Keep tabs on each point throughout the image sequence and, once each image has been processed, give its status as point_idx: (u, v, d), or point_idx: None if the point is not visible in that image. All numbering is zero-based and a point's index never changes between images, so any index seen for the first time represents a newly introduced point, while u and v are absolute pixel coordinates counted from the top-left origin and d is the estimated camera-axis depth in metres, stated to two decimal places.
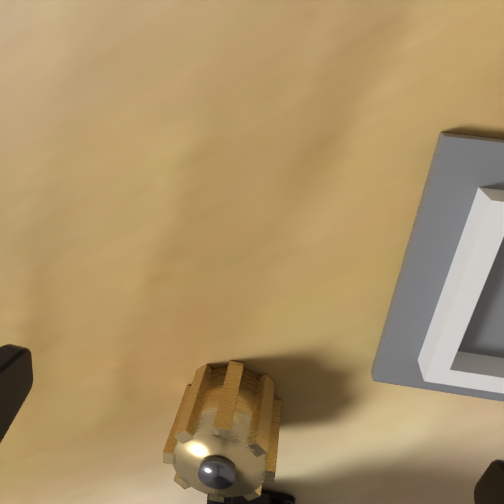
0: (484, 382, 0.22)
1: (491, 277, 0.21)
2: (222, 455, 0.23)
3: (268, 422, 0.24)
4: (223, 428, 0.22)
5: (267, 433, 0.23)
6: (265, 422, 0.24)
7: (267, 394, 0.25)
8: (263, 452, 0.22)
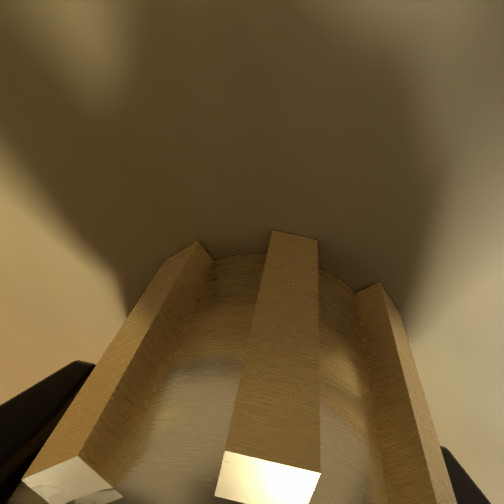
0: None
1: None
2: None
3: (133, 344, 0.06)
4: None
5: (112, 381, 0.05)
6: (117, 359, 0.06)
7: (154, 290, 0.08)
8: (80, 468, 0.04)
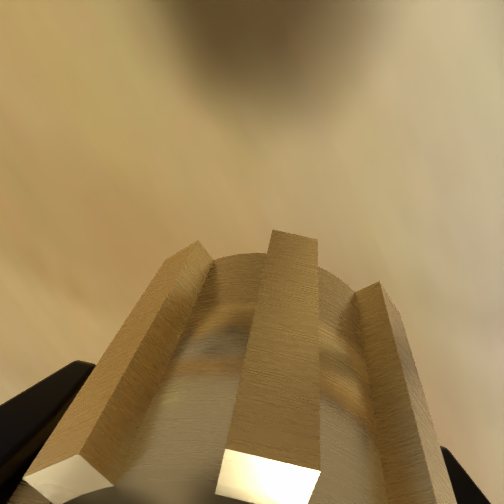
0: None
1: None
2: None
3: (134, 343, 0.06)
4: None
5: (113, 380, 0.05)
6: (118, 358, 0.06)
7: (154, 289, 0.08)
8: (82, 466, 0.04)
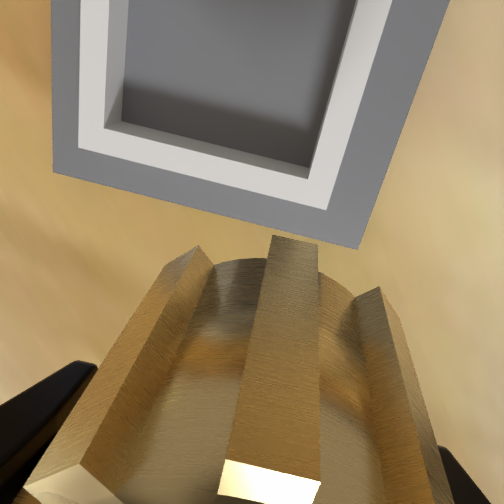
0: (334, 133, 0.15)
1: (202, 115, 0.17)
2: None
3: (134, 350, 0.06)
4: None
5: (113, 388, 0.05)
6: (118, 365, 0.06)
7: (154, 295, 0.08)
8: (82, 475, 0.04)
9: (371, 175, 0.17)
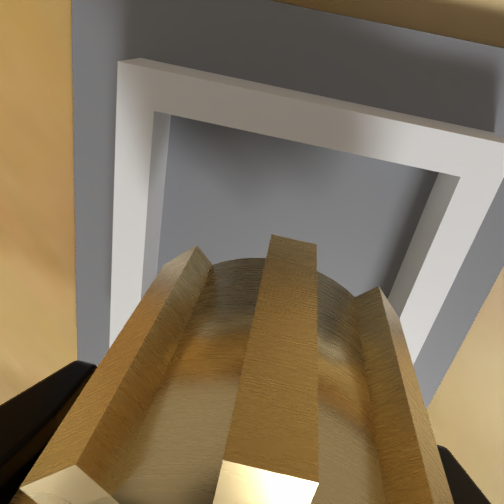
0: None
1: None
2: None
3: (132, 350, 0.06)
4: None
5: (111, 388, 0.05)
6: (115, 365, 0.06)
7: (153, 294, 0.08)
8: (78, 476, 0.04)
9: (429, 375, 0.16)
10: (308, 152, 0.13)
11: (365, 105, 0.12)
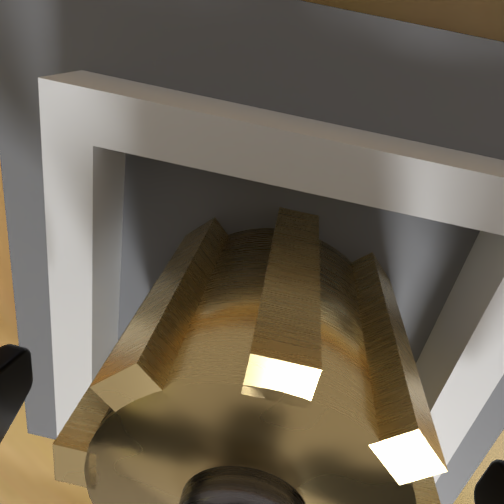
0: None
1: None
2: (181, 487, 0.07)
3: (169, 293, 0.07)
4: (55, 455, 0.07)
5: (155, 318, 0.07)
6: (155, 305, 0.07)
7: (180, 256, 0.09)
8: (138, 374, 0.06)
9: (459, 464, 0.13)
10: (309, 194, 0.09)
11: (386, 135, 0.09)
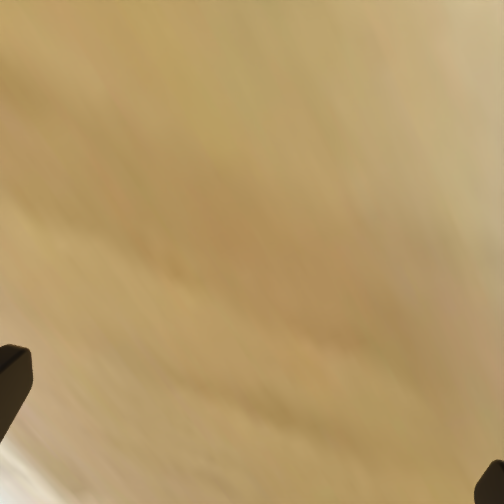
0: None
1: None
2: None
3: None
4: None
5: None
6: None
7: None
8: None
9: None
10: None
11: None
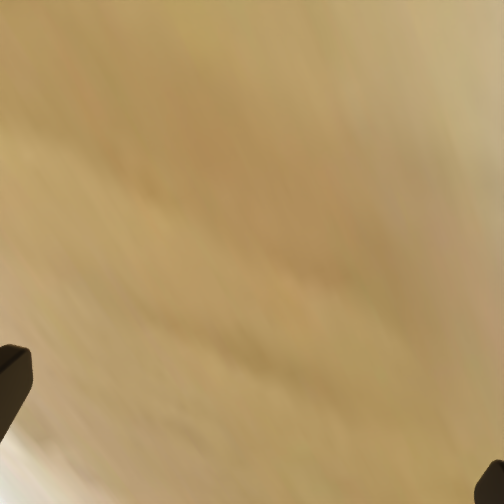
0: None
1: None
2: None
3: None
4: None
5: None
6: None
7: None
8: None
9: None
10: None
11: None
